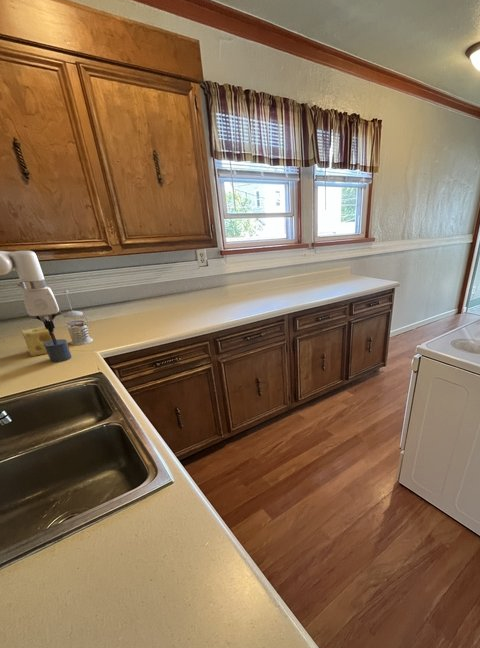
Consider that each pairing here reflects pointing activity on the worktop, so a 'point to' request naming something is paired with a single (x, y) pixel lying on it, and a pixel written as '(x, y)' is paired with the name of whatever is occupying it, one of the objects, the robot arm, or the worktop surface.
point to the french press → (77, 328)
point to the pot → (59, 353)
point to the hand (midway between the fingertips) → (51, 330)
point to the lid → (54, 341)
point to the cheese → (36, 340)
